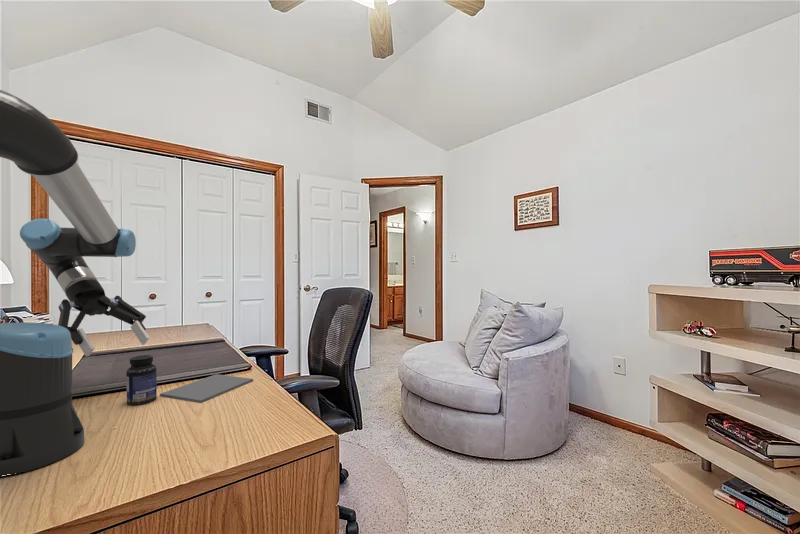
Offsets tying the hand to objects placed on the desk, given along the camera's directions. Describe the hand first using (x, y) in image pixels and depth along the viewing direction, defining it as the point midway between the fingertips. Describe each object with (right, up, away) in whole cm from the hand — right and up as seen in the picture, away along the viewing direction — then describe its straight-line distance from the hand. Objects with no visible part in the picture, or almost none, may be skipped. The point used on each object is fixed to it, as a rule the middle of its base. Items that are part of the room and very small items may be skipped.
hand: (120, 346), depth 94 cm
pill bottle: (+8, -13, -4) cm, 16 cm away
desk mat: (+20, -13, +6) cm, 25 cm away
